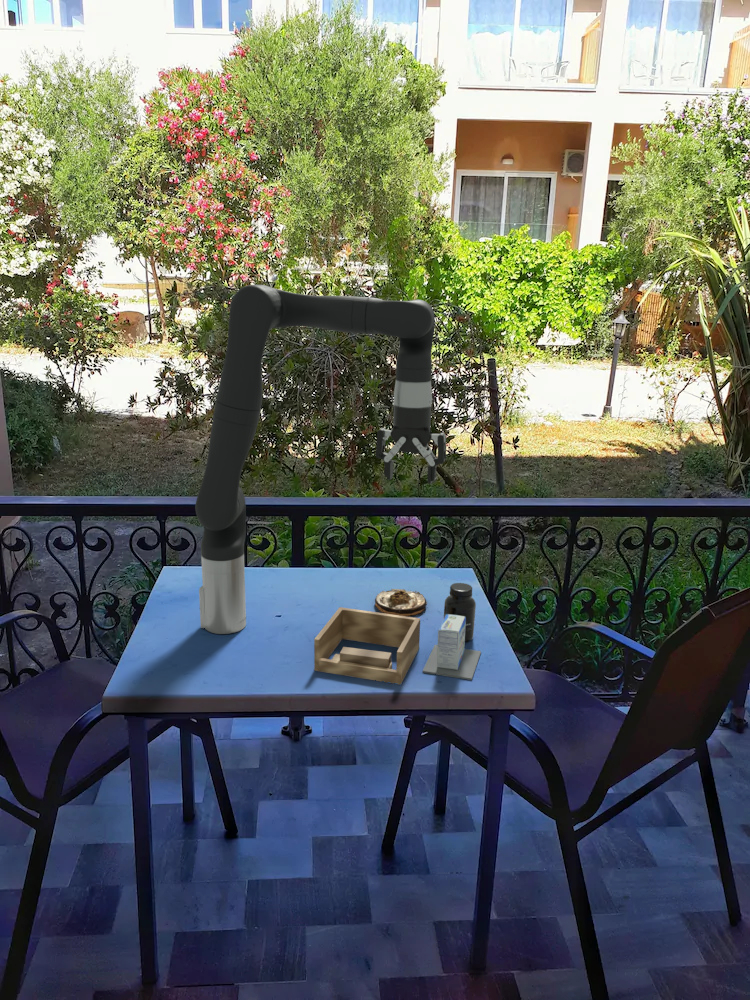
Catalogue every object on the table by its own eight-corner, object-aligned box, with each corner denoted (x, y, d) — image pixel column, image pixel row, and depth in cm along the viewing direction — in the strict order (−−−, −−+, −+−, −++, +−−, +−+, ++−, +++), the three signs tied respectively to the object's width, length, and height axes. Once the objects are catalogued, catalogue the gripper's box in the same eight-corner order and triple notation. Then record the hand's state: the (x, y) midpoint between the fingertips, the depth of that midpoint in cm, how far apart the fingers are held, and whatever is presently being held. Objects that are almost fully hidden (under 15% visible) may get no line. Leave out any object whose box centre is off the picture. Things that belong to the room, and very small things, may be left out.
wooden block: (330, 669, 163) (330, 651, 161) (336, 661, 166) (336, 644, 164) (388, 678, 160) (388, 660, 158) (392, 670, 163) (392, 653, 161)
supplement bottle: (461, 647, 173) (464, 595, 170) (436, 637, 177) (438, 587, 174) (479, 636, 178) (482, 586, 175) (454, 627, 182) (457, 578, 179)
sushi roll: (426, 624, 184) (426, 607, 183) (363, 616, 188) (363, 600, 187) (436, 599, 198) (437, 583, 197) (377, 592, 202) (378, 577, 200)
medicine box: (457, 671, 162) (460, 632, 160) (436, 667, 163) (438, 629, 161) (464, 653, 169) (466, 615, 167) (443, 650, 171) (445, 613, 168)
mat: (422, 672, 162) (422, 670, 162) (434, 646, 173) (434, 644, 173) (471, 680, 160) (471, 678, 159) (480, 653, 171) (481, 651, 171)
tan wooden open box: (314, 670, 162) (314, 639, 160) (339, 636, 177) (339, 607, 175) (400, 684, 157) (401, 652, 155) (419, 648, 172) (420, 618, 170)
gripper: (373, 403, 159) (371, 482, 164) (443, 408, 155) (440, 489, 160) (383, 397, 166) (381, 473, 171) (451, 402, 162) (447, 479, 167)
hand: (409, 480), depth 165 cm, fingers open, 8 cm apart
